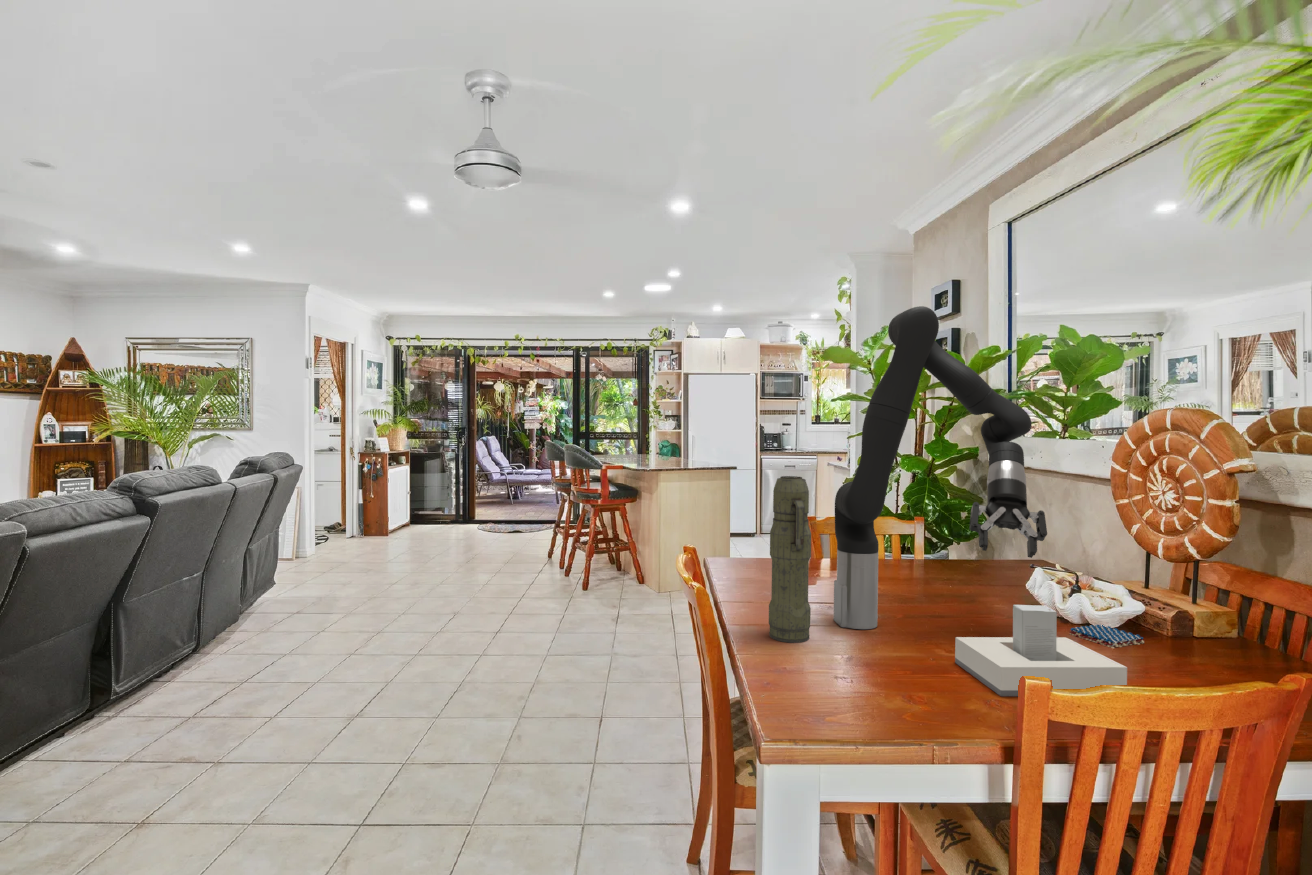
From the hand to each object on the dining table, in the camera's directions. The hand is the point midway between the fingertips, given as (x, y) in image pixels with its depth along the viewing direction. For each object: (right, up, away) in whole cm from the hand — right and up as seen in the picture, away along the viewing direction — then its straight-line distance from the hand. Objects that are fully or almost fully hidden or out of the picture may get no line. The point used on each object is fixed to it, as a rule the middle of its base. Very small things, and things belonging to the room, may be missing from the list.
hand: (1007, 552), depth 134 cm
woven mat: (+26, -21, +9) cm, 35 cm away
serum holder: (-3, -21, -15) cm, 26 cm away
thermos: (-44, -20, +8) cm, 49 cm away
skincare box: (-3, -20, -15) cm, 25 cm away
